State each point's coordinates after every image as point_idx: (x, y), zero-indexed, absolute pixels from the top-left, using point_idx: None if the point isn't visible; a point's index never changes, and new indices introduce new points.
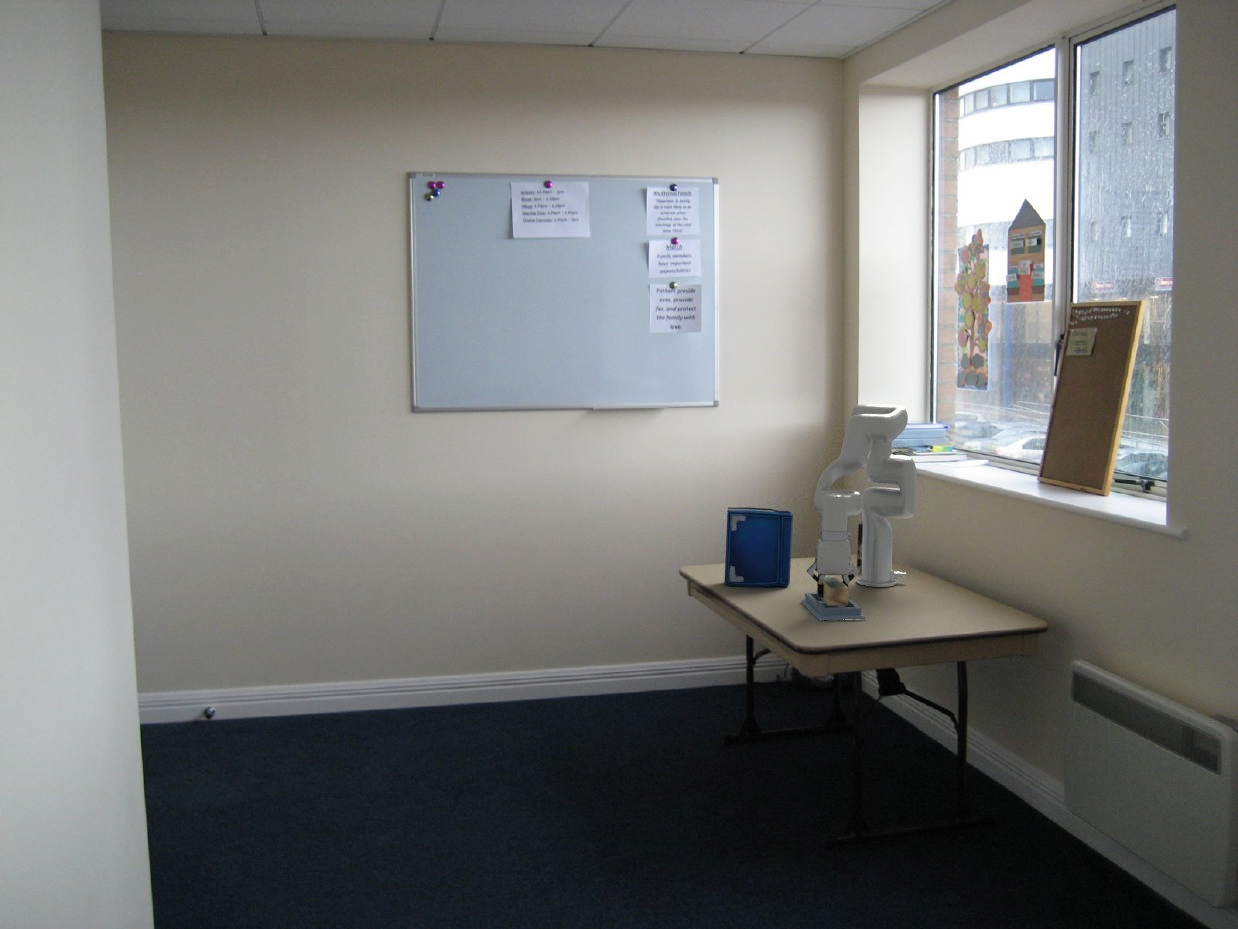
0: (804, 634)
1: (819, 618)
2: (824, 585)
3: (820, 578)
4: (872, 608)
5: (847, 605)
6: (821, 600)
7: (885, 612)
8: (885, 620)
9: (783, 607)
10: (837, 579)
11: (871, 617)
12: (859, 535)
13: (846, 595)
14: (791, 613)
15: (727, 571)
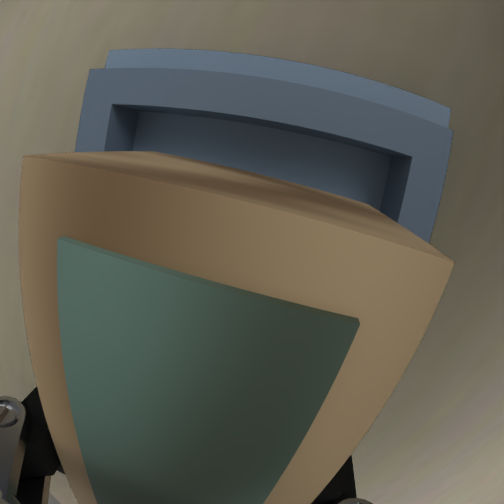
0: (62, 481)
1: None
2: (76, 488)
3: (16, 496)
4: (491, 327)
5: None
6: (229, 128)
7: (479, 403)
8: (379, 490)
9: (8, 168)
10: (324, 426)
11: (362, 462)
12: None
13: None
14: (19, 294)
15: None
